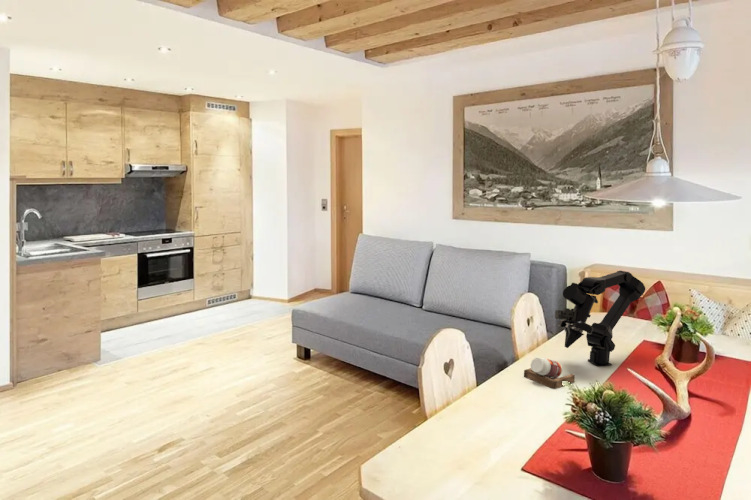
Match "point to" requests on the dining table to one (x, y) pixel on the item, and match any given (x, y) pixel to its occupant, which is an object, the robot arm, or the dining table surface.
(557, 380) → the brown wooden tray
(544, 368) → the pill bottle
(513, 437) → the dining table surface
